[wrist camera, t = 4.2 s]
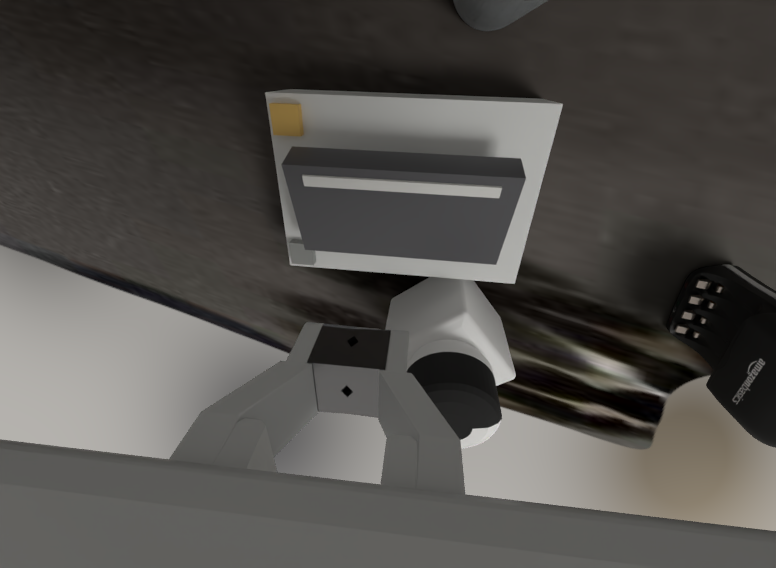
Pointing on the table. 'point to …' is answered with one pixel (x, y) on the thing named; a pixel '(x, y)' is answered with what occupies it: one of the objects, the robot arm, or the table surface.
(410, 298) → the medicine bottle
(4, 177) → the table surface
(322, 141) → the panel
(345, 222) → the dark gray slim case
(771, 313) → the battery charger
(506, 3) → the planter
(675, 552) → the robot arm
